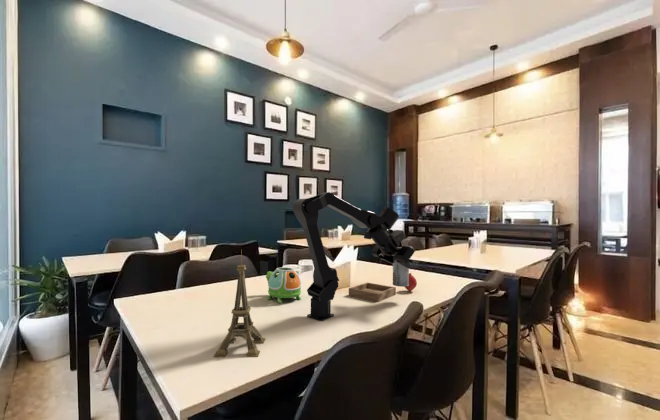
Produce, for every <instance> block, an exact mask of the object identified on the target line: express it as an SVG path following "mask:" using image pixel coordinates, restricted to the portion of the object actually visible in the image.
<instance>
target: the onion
mask: <svg viewBox="0 0 660 420" xmlns="http://www.w3.org/2000/svg"><path fill="white" fill-rule="evenodd" d="M417 285H418V281H417V279H416V277H414V276H413V274H412V272H409V286H405V287H404V288H405V289H406V290H407V291H408V292H412V291H413V290H415V288H416V287H417Z"/></svg>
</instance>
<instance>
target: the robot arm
mask: <svg viewBox="0 0 660 420" xmlns="http://www.w3.org/2000/svg"><path fill="white" fill-rule="evenodd" d="M326 207H328V208H330V209H332V210H334V211H336V212H337V213H339V214H341V215H343V216H345V217H347V218H349V219H350V220H351V221H352V222H353V224H355V225H356V226H357V227H358V228H361V229H362V228H363V229H368V230H367V231H364V234H363V238H364V239H365V240H371V239H372V241H373V242H374V246H373V247H372V249H371V255H372V256H373V257H375V258H379V259H380V260H383V261H385V262H387V263H389V264H391V265H393V256H394V255H395V254H397V255H396V258H397V262H398V263H400V264H401V265H403V266H405V267H407V268H409V269H410V268H411V264H410V259H411V258H412V256H413V255H414V253H415V252H416V250H415V249H414V247H413V246H410V245H402V246H401V247H402V248H397V247H400V245H401V242H402V241H404V240H406V238H407V237H406V234H405V230H403V229H402V230H401V229H395V230H393V229H392V228H393V226H394V225H395V224H396V222H397V221H398V220H399V219H400V216H399V213H397V212H396V211H395V210H393V209H391V208H390V207H389V206H384V207H383V209H382V210H381V212H380V213H379V214H378V215H377V213H375V212H373V211H370V210H366V209H361V208H358V207H356V206H354V205H353V204H351V203H349V202H347V201H345V200H343V199H341V198H340V197H338V196H337V195H335V194H334V193H333V192H330V191H328V192H322V193H320V194H317V195H313V196H312V197H307V198H298V199H296V200H295V201H294V202H293V205H292V210H293V213H294V216H295V218H296V220H297V221H298V223H299V224H300V226H301V227H302V228H303V231H304V232H303V233H304V235H305V239H306V243H307V247H308V251H309V253H310V257H311V261H312V265H313V272H312V283H311V284H310V286H309V287H308V288H307V289H306V291H307V295H308V296H309V297H311V298H310V313H309V314H307V315H306V317H308V318H311V319H315V320H318V321H324V320H327V319H329V318H332V317H334V316H335V314H334V313H331V307H332V306H331V305H332V304H331V302H332V301H333V300H334V298H335V295H336V291H337V290H338V288H339V282H340V279H339V277H338V272H337V271H338V270H337V269H336V268H333V267H330V265H329V263H328V260H327V259H328V258H327V255H326V252H325V248H324V244H323V241H322V237H321V233H320V230H319V225H318V222H319V216H320V215H319V211H320V210H323V209H325V208H326Z"/></svg>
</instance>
